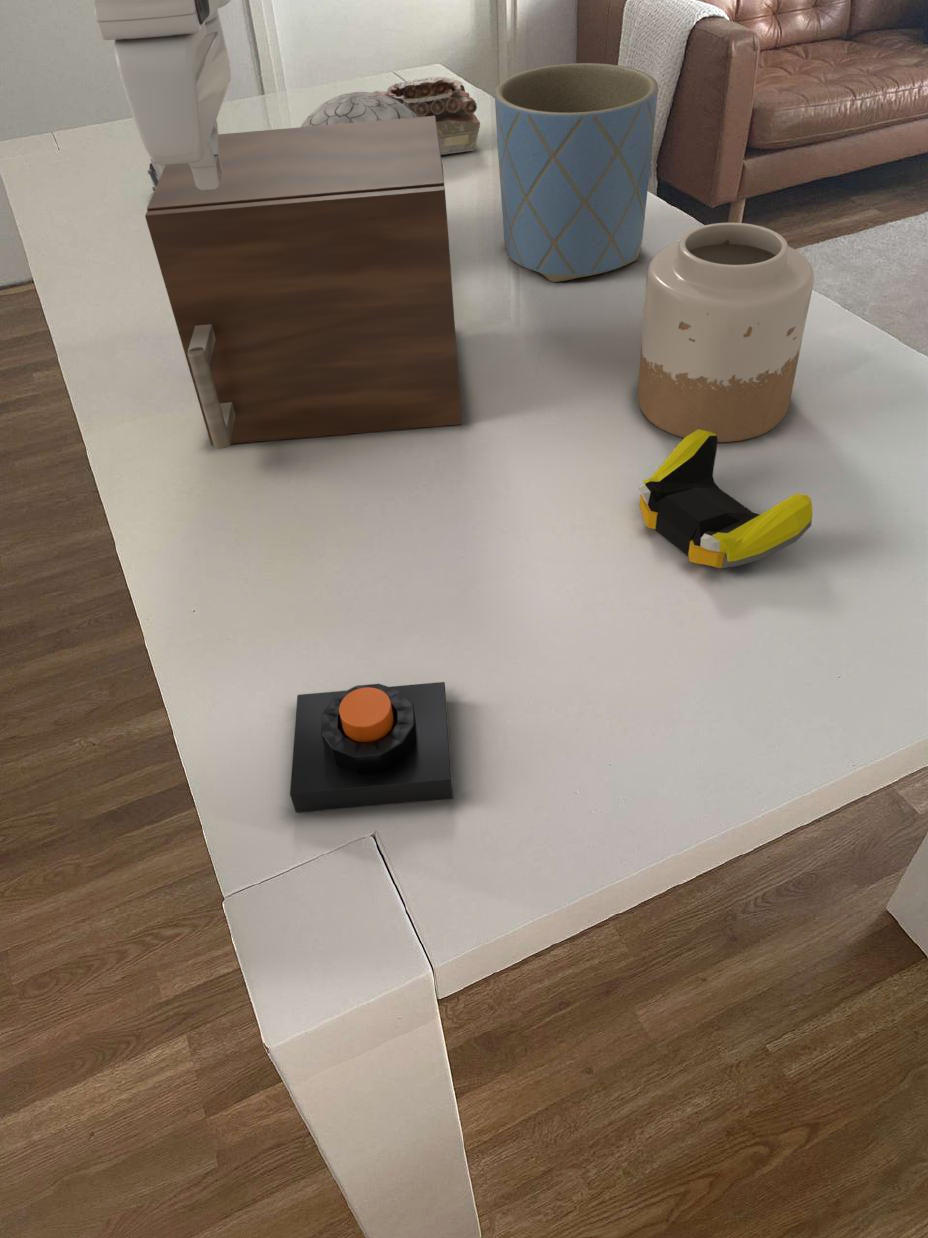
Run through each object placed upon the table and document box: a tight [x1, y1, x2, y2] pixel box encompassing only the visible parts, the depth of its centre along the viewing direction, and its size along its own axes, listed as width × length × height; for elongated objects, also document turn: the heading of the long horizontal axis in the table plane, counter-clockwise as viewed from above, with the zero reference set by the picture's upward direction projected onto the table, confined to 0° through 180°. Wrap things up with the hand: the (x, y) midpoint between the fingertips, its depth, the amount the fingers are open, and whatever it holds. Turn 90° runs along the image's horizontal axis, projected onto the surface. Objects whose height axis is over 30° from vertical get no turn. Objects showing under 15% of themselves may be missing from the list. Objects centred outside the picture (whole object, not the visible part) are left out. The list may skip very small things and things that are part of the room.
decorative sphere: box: [300, 91, 445, 179], centre depth 124 cm, size 20×20×20 cm
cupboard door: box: [144, 185, 463, 450], centre depth 90 cm, size 7×26×24 cm, turn 93°
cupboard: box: [146, 116, 445, 212], centre depth 99 cm, size 18×26×24 cm
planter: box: [494, 62, 659, 283], centre depth 121 cm, size 19×19×20 cm
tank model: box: [372, 76, 481, 156], centre depth 153 cm, size 13×20×10 cm, turn 98°
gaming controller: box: [638, 429, 813, 570], centre depth 85 cm, size 15×6×10 cm
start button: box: [339, 687, 394, 743], centre depth 68 cm, size 4×4×2 cm
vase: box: [637, 222, 815, 443], centre depth 95 cm, size 15×15×17 cm
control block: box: [289, 681, 454, 813], centre depth 69 cm, size 11×9×4 cm
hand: (210, 182), depth 77 cm, fingers closed
